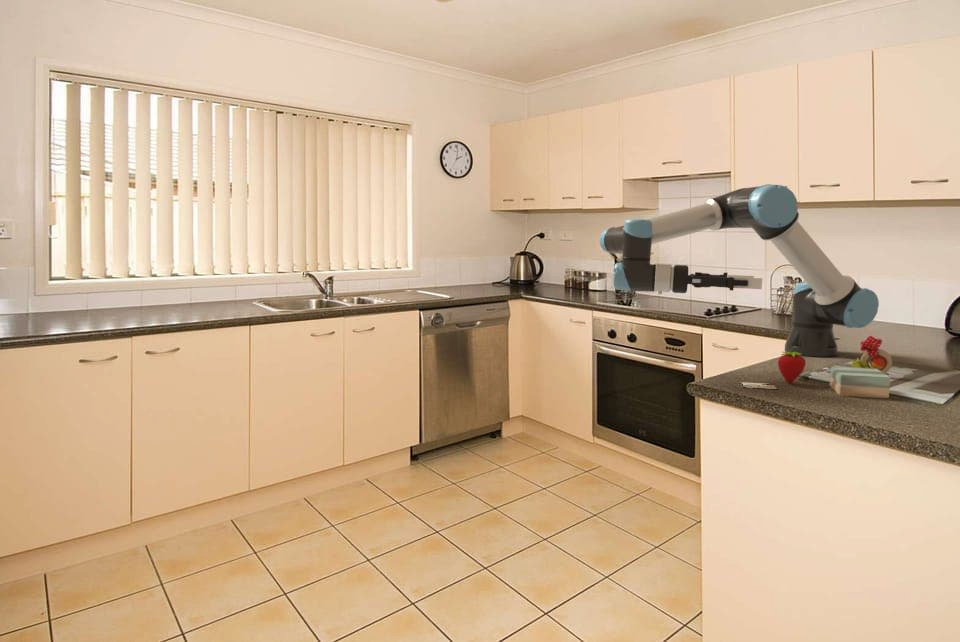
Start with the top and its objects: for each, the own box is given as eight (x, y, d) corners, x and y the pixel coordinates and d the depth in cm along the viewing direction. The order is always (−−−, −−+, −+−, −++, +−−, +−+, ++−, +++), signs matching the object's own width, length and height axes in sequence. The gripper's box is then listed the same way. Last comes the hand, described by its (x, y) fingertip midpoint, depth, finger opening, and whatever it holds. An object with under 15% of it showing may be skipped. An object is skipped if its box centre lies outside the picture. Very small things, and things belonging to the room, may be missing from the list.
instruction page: (740, 382, 158) (740, 382, 158) (774, 384, 156) (774, 383, 156) (743, 388, 153) (743, 387, 153) (778, 390, 150) (778, 389, 150)
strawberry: (809, 383, 157) (812, 345, 155) (794, 388, 152) (796, 348, 151) (787, 379, 161) (789, 342, 160) (771, 383, 157) (773, 345, 156)
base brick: (829, 385, 154) (831, 366, 154) (875, 388, 151) (876, 368, 151) (840, 395, 145) (841, 374, 144) (888, 398, 142) (890, 377, 141)
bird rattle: (877, 381, 167) (843, 366, 170) (899, 346, 164) (864, 331, 166) (881, 387, 161) (846, 371, 164) (904, 350, 158) (868, 334, 161)
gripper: (670, 289, 177) (749, 293, 171) (672, 296, 153) (764, 300, 147) (671, 263, 176) (751, 266, 170) (674, 266, 152) (767, 269, 146)
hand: (757, 282), depth 159 cm, fingers open, 13 cm apart
